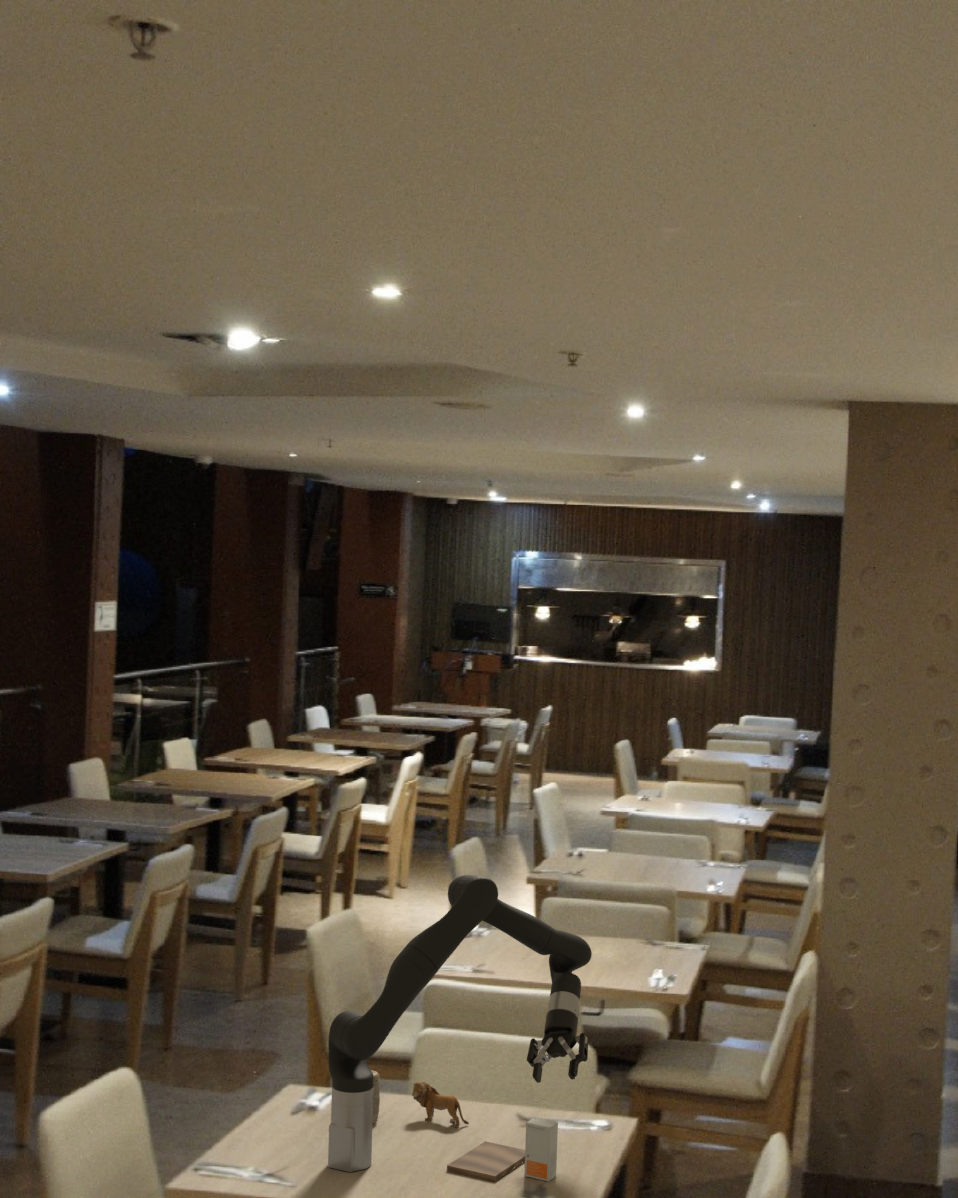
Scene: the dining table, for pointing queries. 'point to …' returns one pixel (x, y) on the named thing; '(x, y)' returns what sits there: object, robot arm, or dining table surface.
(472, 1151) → the walnut board
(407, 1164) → the dining table surface
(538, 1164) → the skincare box
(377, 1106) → the carving
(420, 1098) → the lion figurine
